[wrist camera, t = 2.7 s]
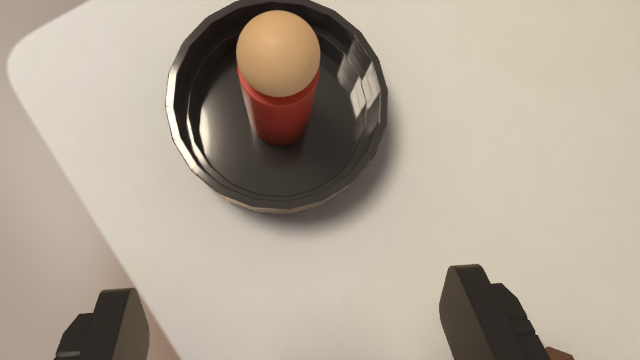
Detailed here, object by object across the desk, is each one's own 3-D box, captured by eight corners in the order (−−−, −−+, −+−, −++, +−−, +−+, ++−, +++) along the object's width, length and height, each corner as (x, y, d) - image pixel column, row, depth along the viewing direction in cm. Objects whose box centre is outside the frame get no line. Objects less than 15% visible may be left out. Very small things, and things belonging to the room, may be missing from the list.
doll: (295, 154, 32) (305, 97, 20) (239, 132, 32) (214, 60, 19) (317, 101, 32) (340, 13, 20) (262, 79, 32) (252, -23, 20)
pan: (333, 243, 32) (342, 242, 27) (149, 170, 31) (128, 158, 27) (399, 70, 34) (417, 43, 29) (227, 0, 33) (219, -38, 29)
